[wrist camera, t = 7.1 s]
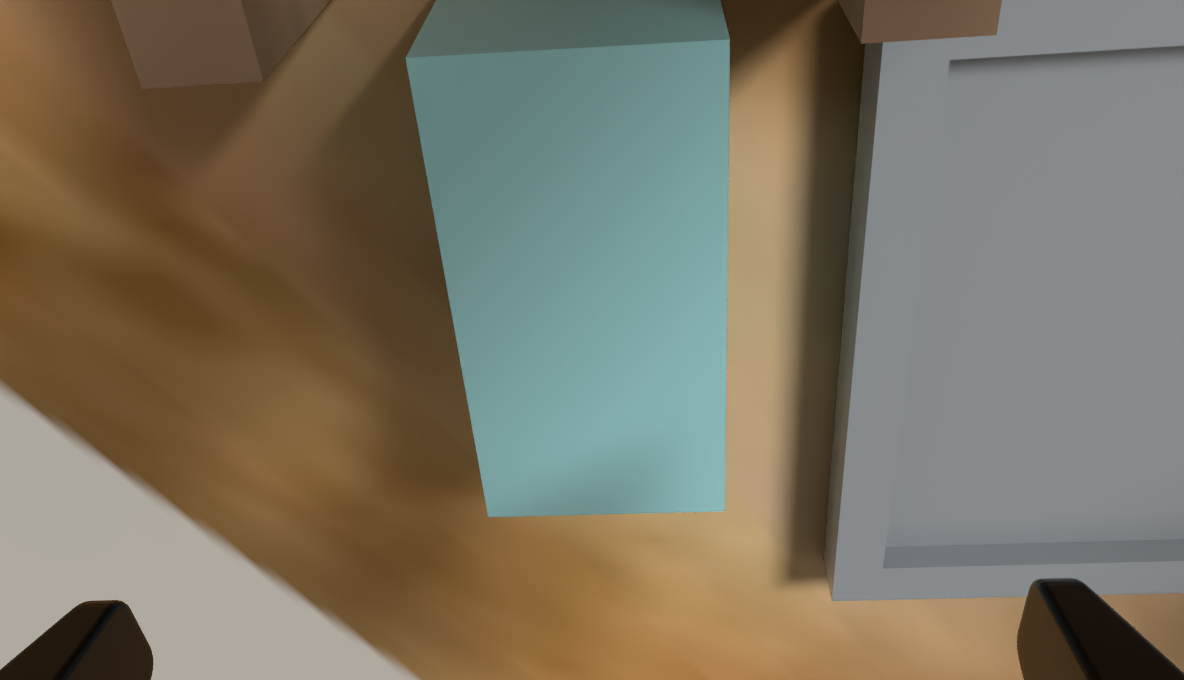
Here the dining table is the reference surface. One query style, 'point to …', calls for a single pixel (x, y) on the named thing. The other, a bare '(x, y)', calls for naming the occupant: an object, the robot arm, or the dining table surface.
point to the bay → (291, 3)
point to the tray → (1015, 311)
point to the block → (584, 244)
